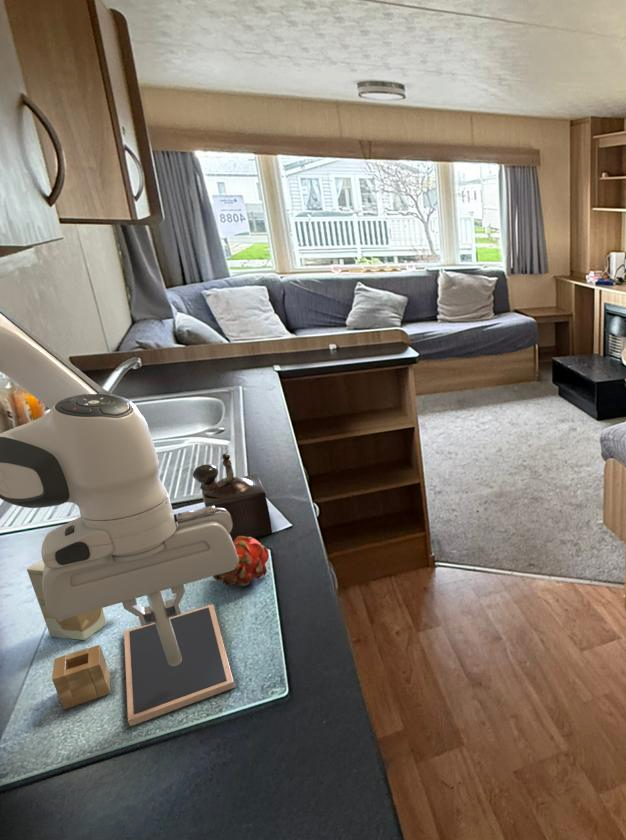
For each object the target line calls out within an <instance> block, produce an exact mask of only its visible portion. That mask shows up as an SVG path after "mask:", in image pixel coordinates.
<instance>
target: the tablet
mask: <svg viewBox="0 0 626 840" xmlns="http://www.w3.org/2000/svg"><path fill="white" fill-rule="evenodd" d="M170 621H171V624H172V628H173V631H174V634H175V637H176V641H177V644H178V647H179V650H180V653H181V657H182V661H181V663H180V664H179V665H177V666H170V665H169V664H168V661H167V658H166V655H165V652H164V649H163V645H162V642H161V639H160V636H159V633H158V630H157V627H156V624H155V622H154V623H151V624H148V625H145V626H141V625H139V626H136V627H133V628H130V629H126V630H124V631H123V643H124V663H125V665H124V666H125V684H126V707H127V709H126V710H127V722H128V724H129V727H132V726H135V725H139V724H141V723H143V722H146V721H149V720H153V719H155V718H157V717H160V716H162V715H166V714H167V713H170V712H173V711H176V710H178V709H182V708H183V707H187V706H189V705H192V704H194V703H197V702H200V701H202V700H205V699H208V698H210V697H213V696H216V695H218V694H221V693H224V692H227V691H229V690H232V689H234V688H235V687H236V685H235V682H234V678H233V674H232V670H231V667H230V662H229V658H228V656H227V651H226V647H225V644H224V639H223V635H222V632H221V628H220V625H219V621H218V617H217V613H216V609H215V606H214V604H213V603H211V604H208V605H205V606H202V607H199V608H195V609H192V610H188V611H185V612H181V614H180V615H177V616H174V617H171V618H170Z"/></svg>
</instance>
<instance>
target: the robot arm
mask: <svg viewBox="0 0 626 840" xmlns="http://www.w3.org/2000/svg"><path fill="white" fill-rule="evenodd" d="M0 373H1V374H3V375H5V376H6V377H7V378H9V379H10V380H11V381H13V382H14V383H15V384H16V385H18V386H19V387H21V388H22V389H23V390H24V391H25V392H27V393H28V394H30V395H31V396H32V397H34V399H36V400H37V401H38V402H39V403H41V404H43V405H44V406H45V407H46V408H48V409H49V411H48V412H46V413H45V414H44V415H42V416H40V417H38V418H37V419H34V420H32V421H29V422H27V423H24V424H21V425H18V426H15V427H13V428H10V429H8V430H5V431H3V432H1V433H0V499H1V500H2V501H4V502H6V503H9V504H11V505H14V506H17V507H21V508H27V509H40V508H49V507H50V508H51V507H56V506H60V505H64V504H66V503H67V504H68V503H70V504H71V503H72V504H74V505H76V506H77V507H78V509H79V515H80V516H79V517H77V518H75V519H72V520H71V521H68V522H67V523H65V524H63V525H60V526H58V527H57V528H55V529H52V530H50V531H49V532H48V533H46V535H45V536H44V539H43V541H42V544H41V551H40V552H41V553H40V554H41V560H43V562H44V564H45V566H44V571H43V578H42V589H43V596H44V601H45V605H46V608H47V611H48V614H49V615H50V616H52V617H54V618H56V619H59V620H62V619H66V618H70V617H73V616H76V615H80V614H83V613H87V612H90V611H94V610H97V609H101V608H103V609H104V608H107V607H111V606H115V605H117V604H121V603H122V607H123V609H124V610H126V611H127V612H129V613H131V614H132V615H134V616H136V617H138V620H139V623H140V626H145V625H148V624H151V623H154V622H155V619H154V617H153V613H152V610H151V608H150V605H148V606H143V605H141V604H140V603H138V599H139V598H142V597H145V596H146V597H147V595H149V594H152V593H156V592H159V591H161V592H162V591H166V590H170V591H171V594H172V596H171V598H170V599H168V600H164V602H165V608H166V611H167V614H168V618H171V617H174V616H177V615H180V614H182V609H181V605H180V604H181V601H182V599H183V596H184V594H185V592H186V591H185V589H186V588H185V585H187V584H191V583H194V582H197V581H201V580H204V579H207V578H211V577H213V576H215V575H218V574H222V573H225V572H229V571H232V570H234V569H235V568H236V566H237V565H238V563H239V558H238V555H237V552H236V549H235V546H234V543H233V541H232V539H231V536H230V534H229V533H230V532H231V530H232V528H233V523H232V519H231V515H230V513H229V512H228V511H227V510H225V509H223V508H215V506H208V507H205V506H204V507H202V508H199V509H194V510H187V511H184V512H178V513H174V510H173V506H172V503H171V499H170V495H169V493H168V490H167V488H166V486H165V484H163V482H162V480H161V477H160V472H159V471H160V469H159V468H160V461H159V457H158V453H157V450H156V446H155V443H154V441H153V437H152V435H151V430H150V426H149V424H148V422H147V420H146V419H145V417H144V415H143V414H142V413H141V412H140V410H139V409H138V407H137V406H136V405H135V404H134V402H132V401H131V400H130V399H128V398H126V397H124V396H119V395H117V394H114V393H111V392H110V391H108V390H106V389H105V388H103V387H102V386H101V385H99V384H98V383H96V382H95V381H93V379H91V378H90V377H88V376H87V375H86V374H85V373H84V372H82V371H81V370H80V369H79V368H78V367H77V366H75V365H74V364H73V363H71V362H70V361H69V360H67V359H66V358H65V357H64V356H63V355H62V354H60V353H59V352H58V351H57V350H55V349H54V348H53V347H52V346H50V345H49V344H48V342H45V341H44V340H43V339H42V338H40V337H39V336H38V335H37V334H36V333H34V332H33V331H32V330H30V328H28V327H27V326H25V325H24V324H23V323H21V322H20V321H19V320H18V319H16V318H15V317H13V316H12V315H11V314H9V313H8V312H6V311H5V310H3V309H1V308H0ZM216 511H219V512H216Z"/></svg>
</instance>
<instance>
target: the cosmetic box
mask: <svg viewBox="0 0 626 840" xmlns="http://www.w3.org/2000/svg"><path fill="white" fill-rule="evenodd" d="M44 566H45V564H44V562H43V559H41V560H39V561H38V562H36V563H34V564H32V565H30V566H29V567H27V568H26V571H27V575H28V577H29V580H30V583H31V586H32V588H33V591H34V594H35V597H36V600H37V603H38V605H39V609H40V611H41V614H42V617H43V619H44V623H45V625H46V628H47V631H48V634H49V636H50V637H54V638H55V637H56V638H61V639H71V640H81V641H85V640H87V639H88V638H90V637H91V636H93V635H95V634H96V633H97V632H98V631H99V630H101V629H102V628H103V627H105V626H106V625H108V622H107V618H106V615H105V612H104V608H101V609H97V610H94V611H90V612H87V613H83V614H80V615H76V616H73V617H70V618H66V619H62V620H59V619H56V618H54V617H52V616H50V615H49V614H48V611H47V608H46V605H45V601H44V596H43V589H42V578H43V571H44Z"/></svg>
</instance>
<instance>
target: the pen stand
mask: <svg viewBox="0 0 626 840" xmlns="http://www.w3.org/2000/svg"><path fill="white" fill-rule="evenodd" d="M51 681H52V684H53V686H54V689H55V691H56V693H57V696H58V699H59V701H60V703H61V705H62V708H63V710H67V709H70V708H74V707H76V706H79V705H82V704H84V703H87V702H88V703H89V702H91V701H93V700H96V699H99V698H102V697H106V696H108V695H110V694H111V672H110V669H109V667H108V664H107V660H106V658H105V655H104V652H103V650H102V646H101V644H97V645H94V646H90V647H88V648H83V649H80V650H77V651H75V652H71V653H68V654H64V655H61V656H59V657H55V658H54V659H53V669H52V678H51Z"/></svg>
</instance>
